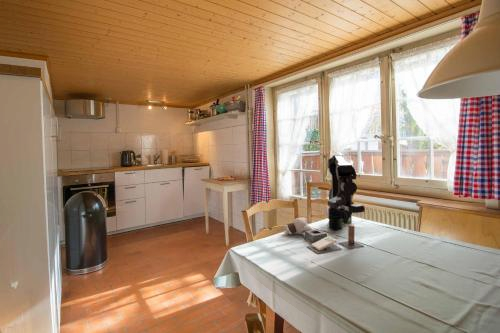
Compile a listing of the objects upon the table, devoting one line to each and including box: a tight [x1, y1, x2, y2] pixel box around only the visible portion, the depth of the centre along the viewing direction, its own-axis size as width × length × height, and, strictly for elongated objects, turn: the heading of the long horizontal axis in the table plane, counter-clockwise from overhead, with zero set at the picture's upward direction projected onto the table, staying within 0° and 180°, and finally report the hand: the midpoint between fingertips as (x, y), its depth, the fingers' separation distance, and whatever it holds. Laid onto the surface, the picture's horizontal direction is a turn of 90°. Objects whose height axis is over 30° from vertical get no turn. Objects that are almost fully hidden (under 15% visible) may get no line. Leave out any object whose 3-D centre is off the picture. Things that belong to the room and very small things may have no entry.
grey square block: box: [304, 228, 328, 244], centre depth 131 cm, size 8×8×4 cm
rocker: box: [311, 235, 338, 251], centre depth 120 cm, size 10×6×1 cm, turn 109°
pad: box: [338, 240, 365, 250], centre depth 123 cm, size 8×8×1 cm
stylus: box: [347, 224, 356, 245], centre depth 123 cm, size 3×3×9 cm
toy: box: [282, 217, 314, 236], centre depth 141 cm, size 13×9×15 cm
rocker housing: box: [306, 243, 343, 255], centre depth 120 cm, size 13×9×2 cm
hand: (345, 223), depth 122 cm, fingers closed
